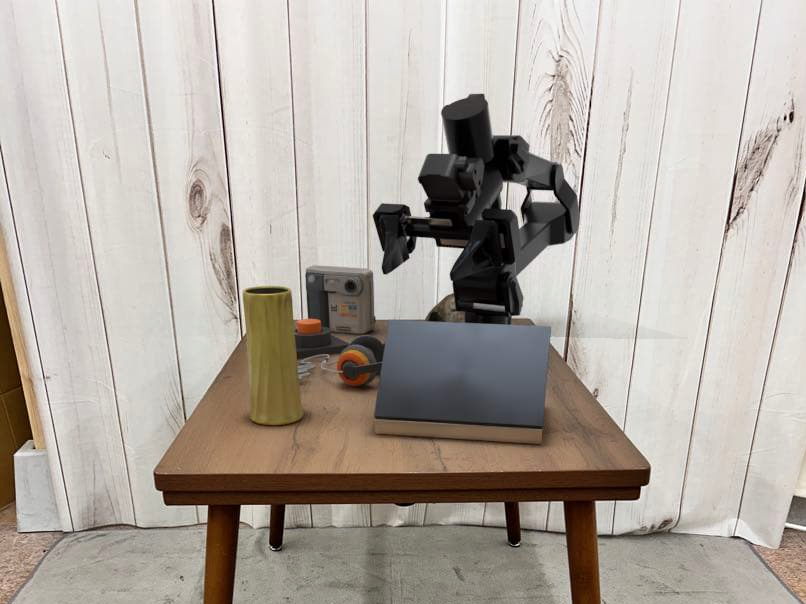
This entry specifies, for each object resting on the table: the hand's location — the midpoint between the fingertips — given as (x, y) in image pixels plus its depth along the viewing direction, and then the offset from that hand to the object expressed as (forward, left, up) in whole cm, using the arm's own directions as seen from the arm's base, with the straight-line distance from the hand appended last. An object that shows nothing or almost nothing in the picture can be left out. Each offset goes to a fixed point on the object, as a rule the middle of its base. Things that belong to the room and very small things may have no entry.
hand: (416, 274), depth 93 cm
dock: (+3, -26, -14) cm, 30 cm away
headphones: (+4, -9, -15) cm, 18 cm away
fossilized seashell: (-23, -27, -15) cm, 38 cm away
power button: (+3, -26, -12) cm, 29 cm away
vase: (+19, +1, -15) cm, 24 cm away
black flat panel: (+2, +14, -9) cm, 16 cm away
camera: (-7, -36, -15) cm, 40 cm away
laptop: (+1, +12, -14) cm, 19 cm away
